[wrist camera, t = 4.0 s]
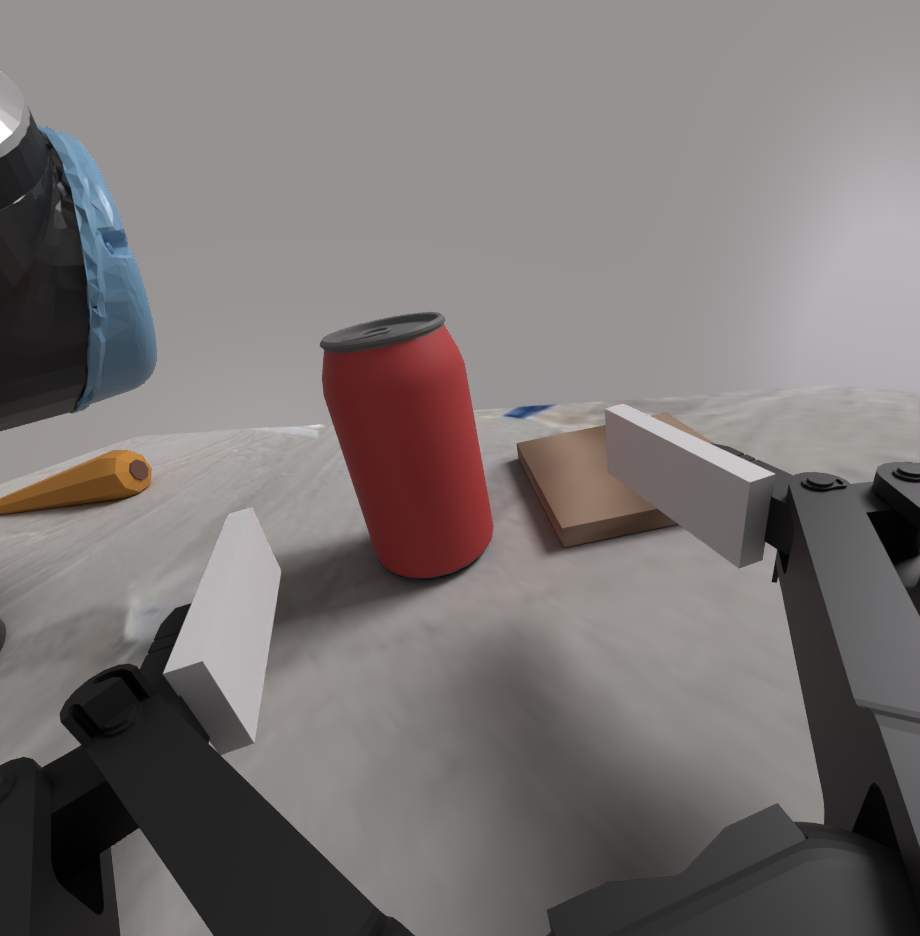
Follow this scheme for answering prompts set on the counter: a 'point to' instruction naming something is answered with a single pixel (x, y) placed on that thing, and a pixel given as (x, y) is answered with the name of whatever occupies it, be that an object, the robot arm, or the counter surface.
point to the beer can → (409, 442)
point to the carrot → (84, 483)
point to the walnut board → (588, 486)
